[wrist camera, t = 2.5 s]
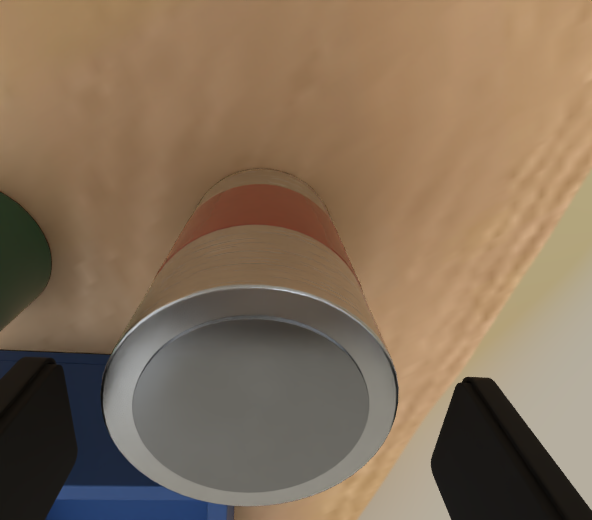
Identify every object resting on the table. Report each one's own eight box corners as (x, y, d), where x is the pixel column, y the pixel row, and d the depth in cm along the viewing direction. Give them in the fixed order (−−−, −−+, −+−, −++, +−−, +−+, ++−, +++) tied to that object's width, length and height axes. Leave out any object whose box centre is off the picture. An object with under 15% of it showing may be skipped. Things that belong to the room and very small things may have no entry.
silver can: (189, 161, 16) (75, 275, 7) (342, 174, 17) (434, 296, 7) (192, 295, 19) (113, 510, 10) (323, 302, 20) (371, 511, 10)
